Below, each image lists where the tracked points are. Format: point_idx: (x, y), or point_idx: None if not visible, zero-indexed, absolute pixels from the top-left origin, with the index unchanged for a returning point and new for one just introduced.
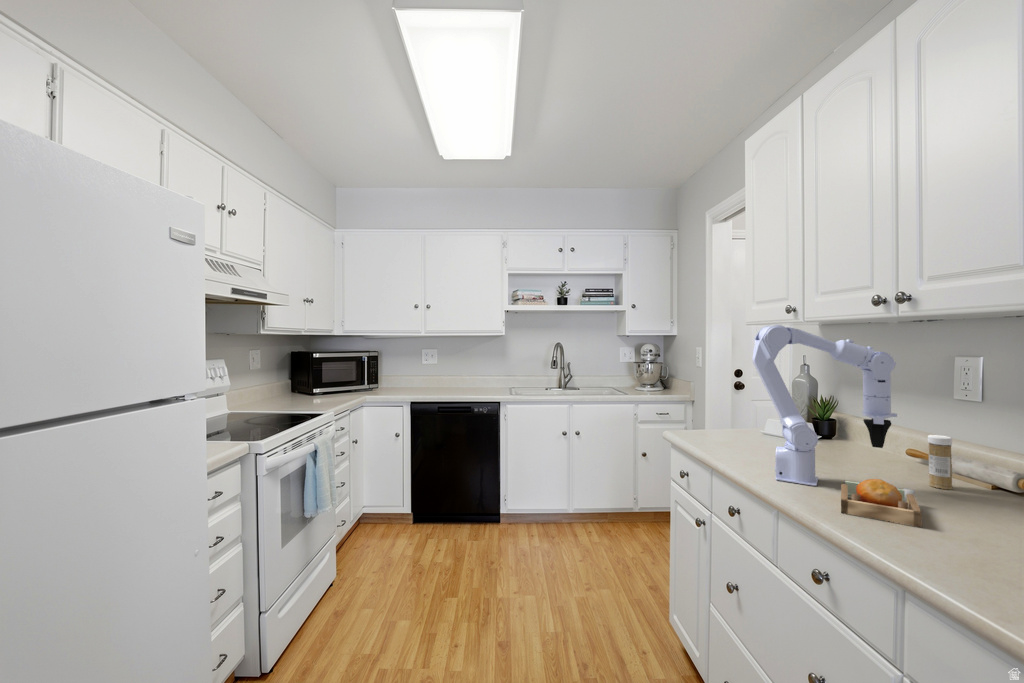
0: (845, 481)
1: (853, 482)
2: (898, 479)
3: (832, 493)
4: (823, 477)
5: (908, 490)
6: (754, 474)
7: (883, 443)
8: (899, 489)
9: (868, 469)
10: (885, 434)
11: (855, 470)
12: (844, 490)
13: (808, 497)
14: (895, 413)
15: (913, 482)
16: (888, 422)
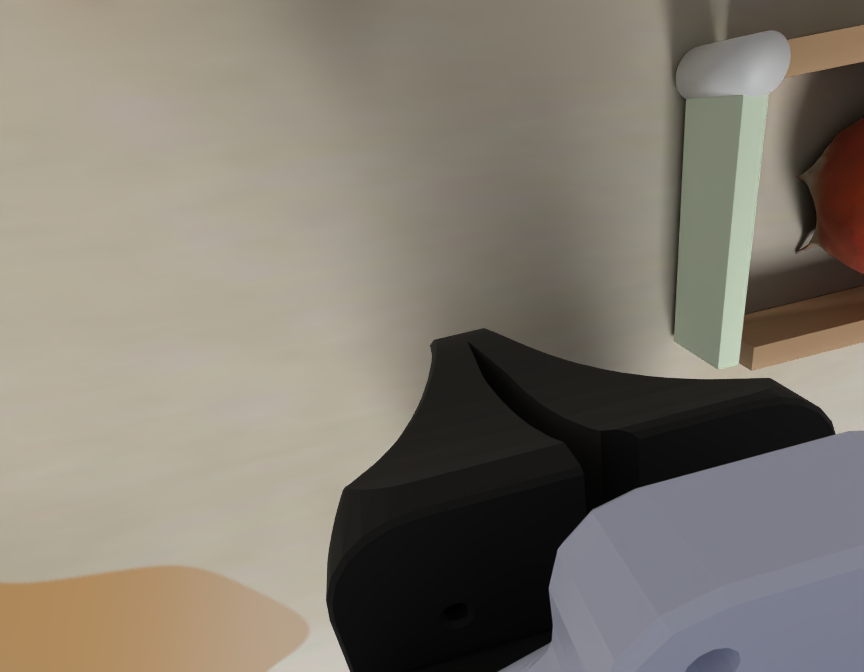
0: (731, 365)
1: (732, 334)
2: (118, 195)
3: (690, 378)
4: None
5: (776, 67)
6: None
7: (509, 339)
8: (755, 118)
9: (8, 383)
10: (598, 370)
11: (124, 425)
12: (860, 331)
13: None
14: (671, 655)
15: (111, 103)
16: (574, 485)
